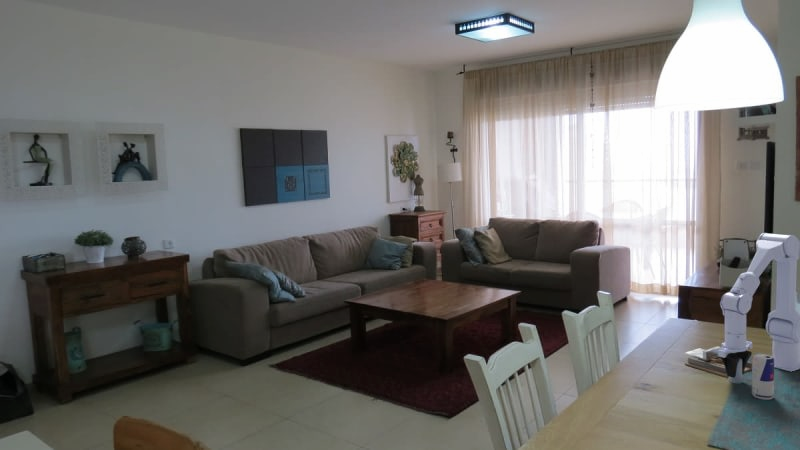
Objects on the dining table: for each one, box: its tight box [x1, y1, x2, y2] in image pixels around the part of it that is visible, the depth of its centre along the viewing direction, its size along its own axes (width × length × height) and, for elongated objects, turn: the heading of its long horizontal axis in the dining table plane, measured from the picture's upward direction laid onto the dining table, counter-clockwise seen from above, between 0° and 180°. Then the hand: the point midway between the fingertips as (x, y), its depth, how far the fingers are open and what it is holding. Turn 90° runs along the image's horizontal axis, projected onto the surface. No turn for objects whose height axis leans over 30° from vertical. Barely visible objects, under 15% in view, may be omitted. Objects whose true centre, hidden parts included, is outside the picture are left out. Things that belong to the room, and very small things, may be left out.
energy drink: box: [751, 352, 775, 401], centre depth 166 cm, size 5×5×12 cm
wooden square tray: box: [684, 356, 752, 379], centre depth 191 cm, size 14×15×2 cm
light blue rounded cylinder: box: [728, 359, 743, 384], centre depth 178 cm, size 4×4×7 cm
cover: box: [683, 345, 722, 361], centre depth 196 cm, size 8×8×3 cm
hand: (735, 375), depth 178 cm, fingers closed on light blue rounded cylinder, 4 cm apart
